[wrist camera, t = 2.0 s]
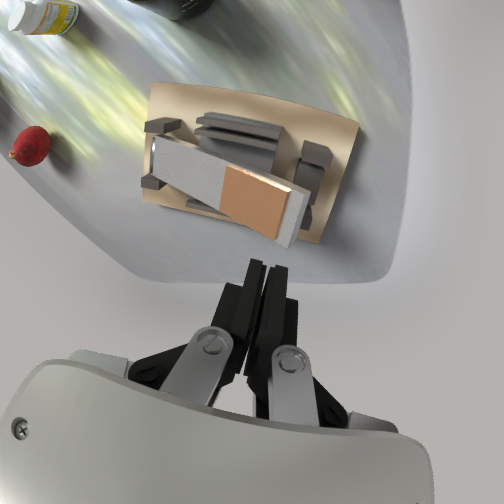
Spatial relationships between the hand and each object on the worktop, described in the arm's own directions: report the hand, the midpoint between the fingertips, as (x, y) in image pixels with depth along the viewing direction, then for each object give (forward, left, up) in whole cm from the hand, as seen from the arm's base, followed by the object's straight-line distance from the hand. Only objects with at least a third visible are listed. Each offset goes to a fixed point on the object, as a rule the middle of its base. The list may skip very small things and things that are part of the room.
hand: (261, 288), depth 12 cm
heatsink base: (0, -5, -19) cm, 20 cm away
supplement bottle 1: (-18, -33, -19) cm, 43 cm away
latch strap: (0, -5, -11) cm, 12 cm away
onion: (+1, -34, -19) cm, 39 cm away
